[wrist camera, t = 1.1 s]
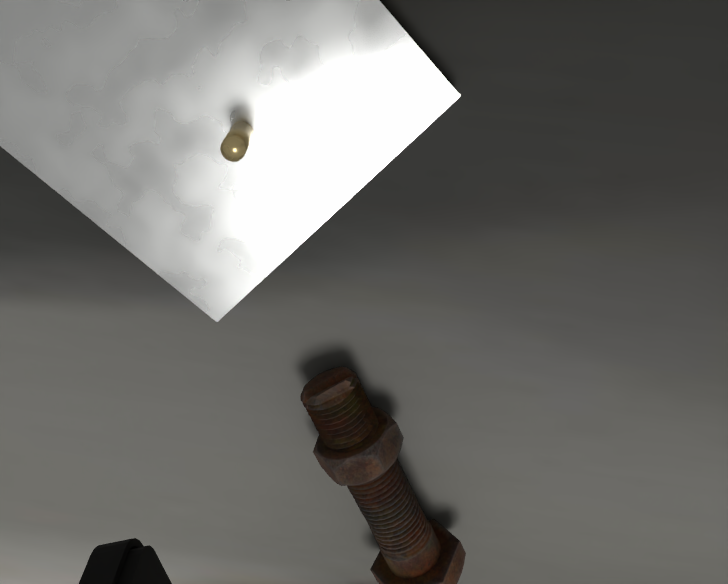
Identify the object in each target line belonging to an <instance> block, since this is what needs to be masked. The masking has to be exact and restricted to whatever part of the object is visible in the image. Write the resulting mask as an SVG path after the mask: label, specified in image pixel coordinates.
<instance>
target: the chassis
mask: <svg viewBox="0 0 728 584" xmlns="http://www.w3.org/2000/svg"><path fill="white" fill-rule="evenodd" d="M459 97H460V94H459V93H458V92H457V91H456V90H455V89H454V87H453V86H452V85H451V84H450V83H449V82H448V80H447V79H446V78H445V77H444V76H443V74H442V73H441V72H440V71H439V70H438V69H437V67H436V66H435V65H434V64H433V63H432V62H431V60H430V59H429V58H428V57H427V56H426V55H425V53H424V52H423V51H422V50H421V49H420V48H419V46H418V45H417V44H416V43H415V42H414V40H413V39H412V38H411V37H410V36H409V35H408V33H407V32H406V31H405V30H404V29H403V28H402V26H401V25H400V24H399V23H398V22H397V21H396V19H395V18H394V17H393V16H392V15H391V14H390V12H389V11H388V10H387V9H386V8H385V6H384V5H383V4H382V3H381V2H380V1H379V0H0V146H1V147H2V148H4V149H5V150H6V151H7V152H8V153H10V154H11V155H12V156H13V157H15V158H16V159H17V160H18V161H20V162H21V163H22V164H23V165H24V166H26V167H27V168H28V169H29V170H31V171H32V172H33V173H34V174H35V175H37V176H38V177H39V178H40V179H42V180H43V181H44V182H45V183H47V184H48V185H49V186H50V187H51V188H53V189H54V190H55V191H56V192H58V193H59V194H60V195H61V196H63V197H64V198H65V199H66V200H67V201H69V202H70V203H71V204H72V205H74V206H75V207H76V208H77V209H79V210H80V211H81V212H82V213H83V214H85V215H86V216H87V217H88V218H90V219H91V220H92V221H93V222H95V223H96V224H97V225H98V226H99V227H101V228H102V229H103V230H104V231H106V232H107V233H108V234H109V235H110V236H112V237H113V238H114V239H115V240H117V241H118V242H119V243H120V244H122V245H123V246H124V247H125V248H126V249H128V250H129V251H130V252H131V253H133V254H134V255H135V256H136V257H138V258H139V259H140V260H141V261H142V262H144V263H145V264H146V265H147V266H149V267H150V268H151V269H152V270H154V271H155V272H156V273H157V274H158V275H160V276H161V277H162V278H163V279H165V280H166V281H167V282H168V283H170V284H171V285H172V286H173V287H174V288H176V289H177V290H178V291H179V292H181V293H182V294H183V295H184V296H185V297H187V298H188V299H189V300H190V301H192V302H193V303H194V304H195V305H197V306H198V307H199V308H200V309H201V310H203V311H204V312H205V313H206V314H208V315H209V316H210V317H211V318H213V319H214V320H215V321H216V322H218V321H219V320H220V319H221V318H222V317H223V316H224V315H225V314H226V313H227V312H229V311H230V310H231V309H232V308H233V307H234V306H235V305H236V304H237V303H238V302H239V301H240V300H241V299H243V298H244V297H245V296H246V295H247V294H248V293H249V292H250V291H251V290H252V289H253V288H254V287H255V286H257V285H258V284H259V283H260V282H261V281H262V280H263V279H264V278H265V277H266V276H267V275H268V274H269V273H271V272H272V271H273V270H274V269H275V268H276V267H277V266H278V265H279V264H280V263H281V262H282V261H284V260H285V259H286V258H287V257H288V256H289V255H290V254H291V253H292V252H293V251H294V250H295V249H296V248H298V247H299V246H300V245H301V244H302V243H303V242H304V241H305V240H306V239H307V238H308V237H309V236H310V235H312V234H313V233H314V232H315V231H316V230H317V229H318V228H319V227H320V226H321V225H322V224H323V223H324V222H326V221H327V220H328V219H329V218H330V217H331V216H332V215H333V214H334V213H335V212H336V211H337V210H338V209H340V208H341V207H342V206H343V205H344V204H345V203H346V202H347V201H348V200H349V199H350V198H351V197H352V196H354V195H355V194H356V193H357V192H358V191H359V190H360V189H361V188H362V187H363V186H364V185H365V184H366V183H368V182H369V181H370V180H371V179H372V178H373V177H374V176H375V175H376V174H377V173H378V172H379V171H380V170H382V169H383V168H384V167H385V166H386V165H387V164H388V163H389V162H390V161H391V160H392V159H393V158H395V157H396V156H397V155H398V154H399V153H400V152H401V151H402V150H403V149H404V148H405V147H406V146H407V145H409V144H410V143H411V142H412V141H413V140H414V139H415V138H416V137H417V136H418V135H419V134H420V133H421V132H423V131H424V130H425V129H426V128H427V127H428V126H429V125H430V124H431V123H432V122H433V121H434V120H435V119H437V118H438V117H439V116H440V115H441V114H442V113H443V112H444V111H445V110H446V109H447V108H448V107H449V106H451V105H452V104H453V103H454V102H455V101H456V100H457V99H458V98H459Z"/></svg>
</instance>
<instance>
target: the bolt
mask: <svg viewBox="0 0 728 584" xmlns="http://www.w3.org/2000/svg"><path fill="white" fill-rule="evenodd" d="M356 376H357V375H356V373H355V372H353V371H351V370H350V369H348V368H346V367H337V368H333V369H330V370H327V371H324V372H322V373H320V374H318V375H317V376H316V377H315V378H313V379H312V380H311V381H309V382H308V383H307V384H306V385H305V387H304V389H303V391H302V393H301V401H302V402H303V405H304V407H305V408H306V410H307V412H308V414H309V415H310V417H311V419H312V421H313V422H314V425H315V426H316V429H317V430H318V431H319V434H320V435H319V437H318V439H317V442H316V445H315V448H314V451H313V453H314V454H315V456H316V458H317V460H318V462H319V463H320V465H321V467H322V468H323V469H324V470H325V472H326V473H327V474H328V475H329V476H330V477H331V478H332V479H333V480H334V481H335V482H336V483H337V484H339V485H341V486H346V485H347V486H348V489H349V490H350V492H351V494H352V495H353V498H354V499H355V501H356V503H357V505H358V507H359V508H360V511H361V512H362V514H363V515H364V517H365V518H366V520H367V522H368V524H369V526H370V529H371V530H372V533H373V534H374V536H375V539H376V540H377V542H378V544H379V548H380V552H379V554H378V556H377V558H376V560H375V562H374V563H373V565H372V567H371V571H372V573H373V575H374V577H375V578H376V580H377V582H378V583H379V584H457V583H458V580H459V578H460V576H461V573H462V569H463V565H464V560H465V554H466V553H465V551H464V549H463V546H462V544H461V542H460V541H459V540H458V539H457V538H456V537H455V536H454V535H452V534H451V533H450V532H449V531H448V530H446V529H445V528H444V527H443V526H442V525H440V524H439V523H438V522H437V521H436V520H434V519H432V520H429V521H428V520H427V519H426V517H425V515H424V513H423V511H422V509H421V507H420V505H419V503H418V500H417V499H416V496H415V495H414V492H413V491H412V488H411V487H410V484H409V483H408V480H407V478H406V476H405V474H404V472H403V470H402V468H401V466H400V464H399V462H398V460H397V457H398V455H399V452H400V449H401V446H402V442H403V438H404V437H403V435H402V433H401V431H400V429H399V427H398V425H397V423H396V422H395V421H394V420H393V419H392V418H391V417H390V416H389V415H388V414H387V413H385V412H384V411H383V410H381V409H379V408H377V407H371V404H370V403H369V400H368V398H367V396H366V394H365V393H364V390H363V388H362V387H361V384H360V381H359V379H358V378H357V377H356Z"/></svg>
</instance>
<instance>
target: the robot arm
mask: <svg viewBox="0 0 728 584" xmlns="http://www.w3.org/2000/svg"><path fill="white" fill-rule="evenodd" d="M79 584H172V583H171V581H170V579H169V577H168V576H167V574H166V572H165V570H164V568H163V566H162V564H161V562H160V560H159V558H158V556H157V554H156V552H155V551H154V549H153V548H152V547H151V546H143V545H142V543H141V542H140V541H139V540H138V539H136V538H134V539H128V540H123V541H118V542H113V543H108V544H103V545H98V546H97V547H96V548H95V549H94V550H93V552H92V554H91V555H90V558H89V560H88V563H87V565H86V568H85V570H84V572H83V575H82V577H81V580H80V582H79Z"/></svg>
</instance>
